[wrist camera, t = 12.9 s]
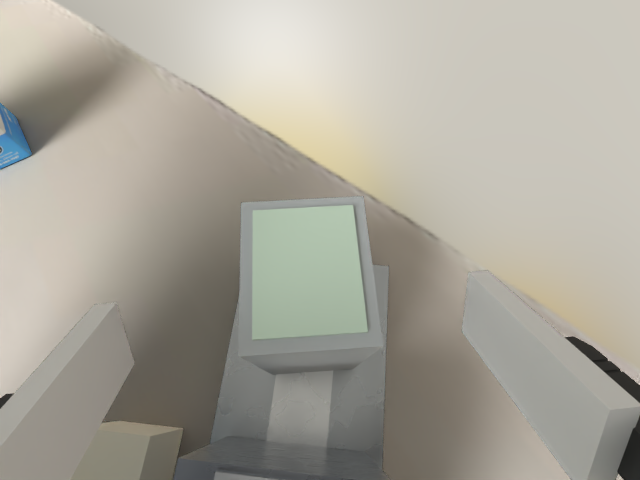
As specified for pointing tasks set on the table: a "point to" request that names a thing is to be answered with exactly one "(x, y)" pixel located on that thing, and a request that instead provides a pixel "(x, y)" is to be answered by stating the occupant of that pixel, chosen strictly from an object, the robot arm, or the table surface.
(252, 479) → the grey l-shaped block
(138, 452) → the beige small block
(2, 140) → the ink box
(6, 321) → the table surface
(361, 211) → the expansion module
